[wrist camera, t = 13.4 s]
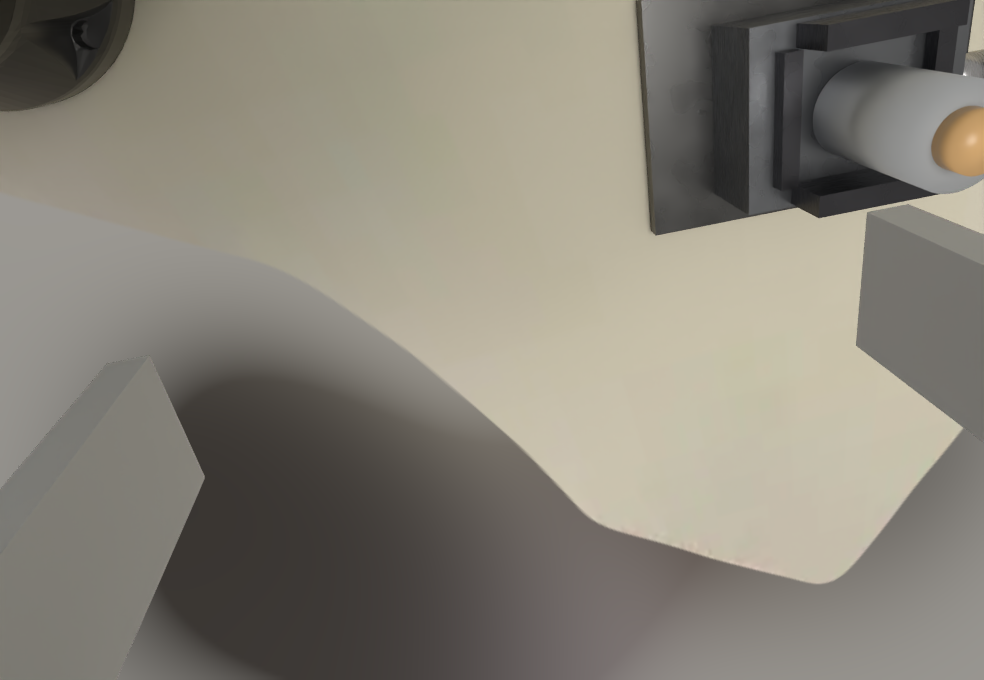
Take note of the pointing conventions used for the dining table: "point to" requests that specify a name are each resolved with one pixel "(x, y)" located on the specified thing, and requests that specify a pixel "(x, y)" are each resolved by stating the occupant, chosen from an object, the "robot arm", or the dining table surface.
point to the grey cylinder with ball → (905, 123)
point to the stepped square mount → (773, 100)
